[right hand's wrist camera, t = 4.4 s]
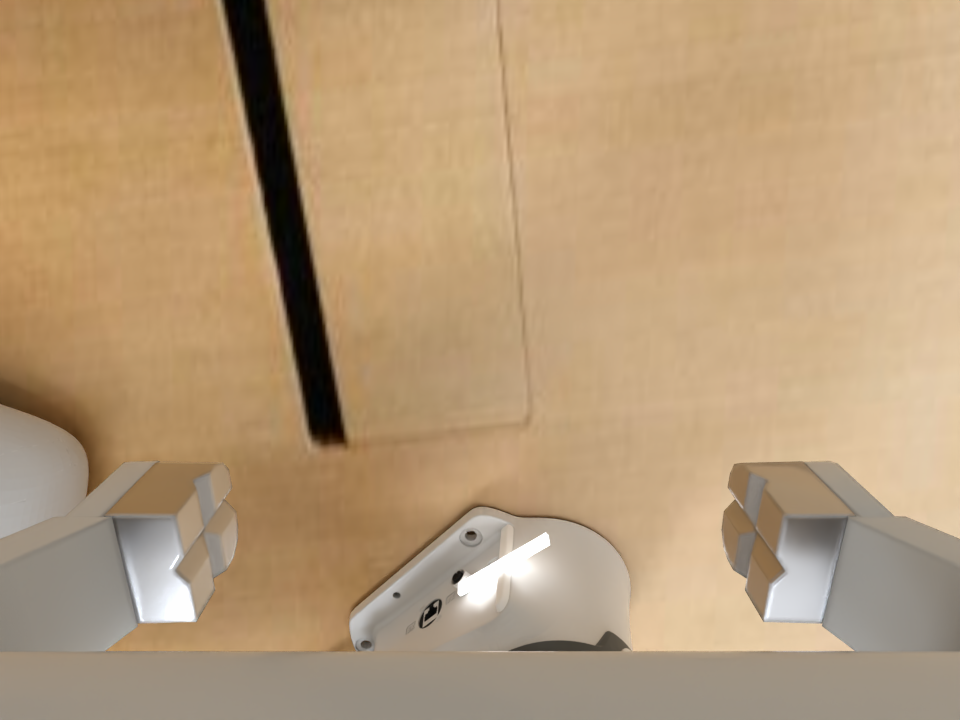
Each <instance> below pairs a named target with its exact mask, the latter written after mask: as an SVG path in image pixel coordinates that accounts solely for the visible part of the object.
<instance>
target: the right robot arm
mask: <svg viewBox="0 0 960 720" xmlns="http://www.w3.org/2000/svg"><path fill="white" fill-rule="evenodd" d="M231 489H232V483H231V478H230V473H229V469H228V468H227V467H226V465H225V464H224V463H213V462H160V461H135V462H125V463H123V464H122V465H121V466H120V467H119V468H117V469H116V470H115V471H114V472H113V473H112V474H111V475H110V476H109V477H108V478H107V479H105V480H104V481H103V482H102V483H101V484H100V485H99V486H98V487H97V488H96V489H95V490H93V491H92V492H91V493H90V494H89V495H88V496H87V497H86V498H85V499H84V500H83V501H81V502H80V503H79V504H78V505H77V506H76V507H75V508H74V509H73V510H72V511H71V512H70V513H68V514H67V515H66V516H65V517H52V518H50V519H48V520H45V521H43V522H40V523H38V524H35V525H33V526H31V527H28V528H26V529H23V530H21V531H18V532H16V533H13V534H11V535H9V536H6V537H4V538H1V539H0V720H960V539H959V538H956V537H954V536H951V535H949V534H946V533H944V532H942V531H939V530H937V529H934V528H932V527H929V526H927V525H925V524H922V523H920V522H917V521H915V520H912V519H910V518H908V517H895V516H894V515H893V514H892V513H891V512H889V511H888V510H887V509H886V508H885V507H884V506H883V505H882V504H881V503H880V502H879V501H878V500H876V499H875V498H874V497H873V496H872V495H871V494H870V493H869V492H868V491H867V490H866V489H864V488H863V487H862V486H861V485H860V484H859V483H858V482H857V481H856V480H855V479H854V478H853V477H851V476H850V475H849V474H848V473H847V472H846V471H845V470H844V469H843V468H842V467H841V466H840V465H838V464H837V463H834V462H831V461H811V462H762V463H739V464H734V466H733V468H732V470H731V473H730V477H729V483H728V489H729V490H730V492H731V493H732V495H733V496H734V498H735V500H734V501H733V502H732V503H731V504H730V505H729V506H728V507H727V509H726V510H725V511H724V514H723V522H722V538H723V547H724V550H725V553H726V556H727V559H728V561H729V563H730V565H731V567H732V568H733V570H734V571H736V572H737V573H739V574H741V575H742V576H744V577H745V578H747V581H746V587H745V591H746V593H747V594H748V596H749V598H750V600H751V601H752V603H753V605H754V606H755V608H756V610H757V611H758V613H759V615H760V617H761V618H762V620H763V622H789V623H823V624H822V626H823V627H824V628H825V629H827V630H828V631H829V632H831V633H832V634H833V635H835V636H836V637H837V638H839V639H840V640H841V641H843V642H844V643H845V644H847V645H848V646H849V647H851V648H852V649H853V650H855V651H633V648H632V640H631V632H630V620H629V606H630V597H631V583H630V577H629V573H628V570H627V567H626V565H625V563H624V561H623V559H622V558H621V556H620V554H619V553H618V552H617V551H616V549H615V548H614V547H613V546H612V545H611V544H610V543H609V542H608V541H607V540H605V539H604V538H603V537H602V536H600V535H599V534H597V533H596V532H594V531H592V530H590V529H588V528H586V527H584V526H581V525H579V524H576V523H573V522H569V521H565V520H560V519H553V518H524V517H515V516H513V515H510V514H508V513H505V512H502V511H500V510H497V509H493V508H489V507H476V508H474V509H472V510H470V511H469V512H468V513H467V514H465V515H464V516H463V517H462V518H461V519H459V520H458V521H457V522H456V523H455V524H454V525H452V526H451V527H450V528H449V529H448V530H446V531H445V532H444V533H443V534H442V535H441V536H439V537H438V538H437V539H436V540H435V541H433V542H432V543H431V544H430V545H429V546H428V547H426V548H425V549H424V550H423V551H422V552H420V553H419V554H418V555H417V556H416V557H414V558H413V559H412V560H411V561H410V562H409V563H407V564H406V565H405V566H404V567H403V568H401V569H400V570H399V571H398V572H397V573H396V574H394V575H393V576H392V577H391V578H390V579H388V580H387V581H386V582H385V583H384V584H382V585H381V586H380V587H379V588H378V589H377V590H375V591H374V592H373V593H372V594H371V595H369V596H368V597H367V598H366V599H365V600H364V601H362V602H361V603H360V604H359V605H358V606H357V607H355V609H354V610H353V611H352V612H351V614H350V620H349V629H350V635H351V639H352V642H353V645H354V648H355V650H356V651H106V650H107V649H108V648H110V647H111V646H112V645H114V644H115V643H116V642H118V641H119V640H120V639H122V638H123V637H124V636H126V635H127V634H128V633H130V632H131V631H132V630H134V629H135V628H136V627H138V624H137V623H170V622H197V620H198V618H199V617H200V615H201V613H202V612H203V610H204V608H205V606H206V605H207V603H208V601H209V600H210V598H211V596H212V594H213V593H214V591H215V587H214V581H213V578H215V577H216V576H218V575H219V574H221V573H223V572H224V571H226V570H227V568H228V566H229V565H230V563H231V561H232V559H233V557H234V553H235V549H236V545H237V541H238V521H237V514H236V511H235V510H234V509H233V507H232V506H231V505H230V504H229V503H228V502H227V501H226V500H225V498H226V496H227V495H228V493H229V492H230V490H231ZM468 531H474V532H475V534H473V535H469V534H467V532H468ZM366 641H369V642H366Z"/></svg>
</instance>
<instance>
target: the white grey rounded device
mask: <svg viewBox="0 0 960 720" xmlns="http://www.w3.org/2000/svg"><path fill="white" fill-rule="evenodd" d="M88 476H89V469H88V459H87V455H86V452H85V450H84V448H83V446H82V445H81V444H80V442H79V441H78V440H77V439H76V438H75V437H74V436H72V435H71V434H70V433H68V432H67V431H65V430H64V429H62V428H60V427H58V426H56V425H54V424H52V423H50V422H48V421H46V420H43V419H41V418H38V417H36V416H33V415H31V414H28V413H25V412H22V411H19V410H16V409H14V408H10V407H7V406H4V405H1V404H0V539H1V538H4V537H6V536H9V535H11V534H13V533H16V532H18V531H21V530H23V529H26V528H28V527H31V526H33V525H35V524H38V523H40V522H43V521H45V520H48V519H50V518H52V517H65V516H66V515H67V514H68V513H70V512H71V511H72V510H73V509H74V508H75V507H76V506H77V505H78V504H79V503H80V502H81V501H83V500H84V499H85V498H86V494H87V488H88Z"/></svg>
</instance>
